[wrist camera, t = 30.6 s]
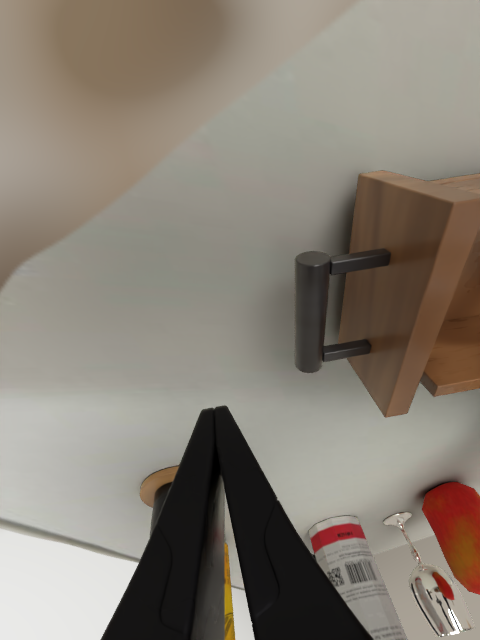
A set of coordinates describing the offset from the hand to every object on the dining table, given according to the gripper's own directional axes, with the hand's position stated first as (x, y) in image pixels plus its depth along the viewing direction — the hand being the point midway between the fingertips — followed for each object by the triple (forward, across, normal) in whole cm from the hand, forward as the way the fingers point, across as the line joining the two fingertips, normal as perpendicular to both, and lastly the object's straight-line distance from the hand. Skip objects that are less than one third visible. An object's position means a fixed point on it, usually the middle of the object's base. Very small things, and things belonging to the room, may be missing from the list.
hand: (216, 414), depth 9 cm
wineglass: (+9, -22, +45) cm, 51 cm away
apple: (+9, -26, +37) cm, 46 cm away
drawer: (+8, -12, 0) cm, 14 cm away
